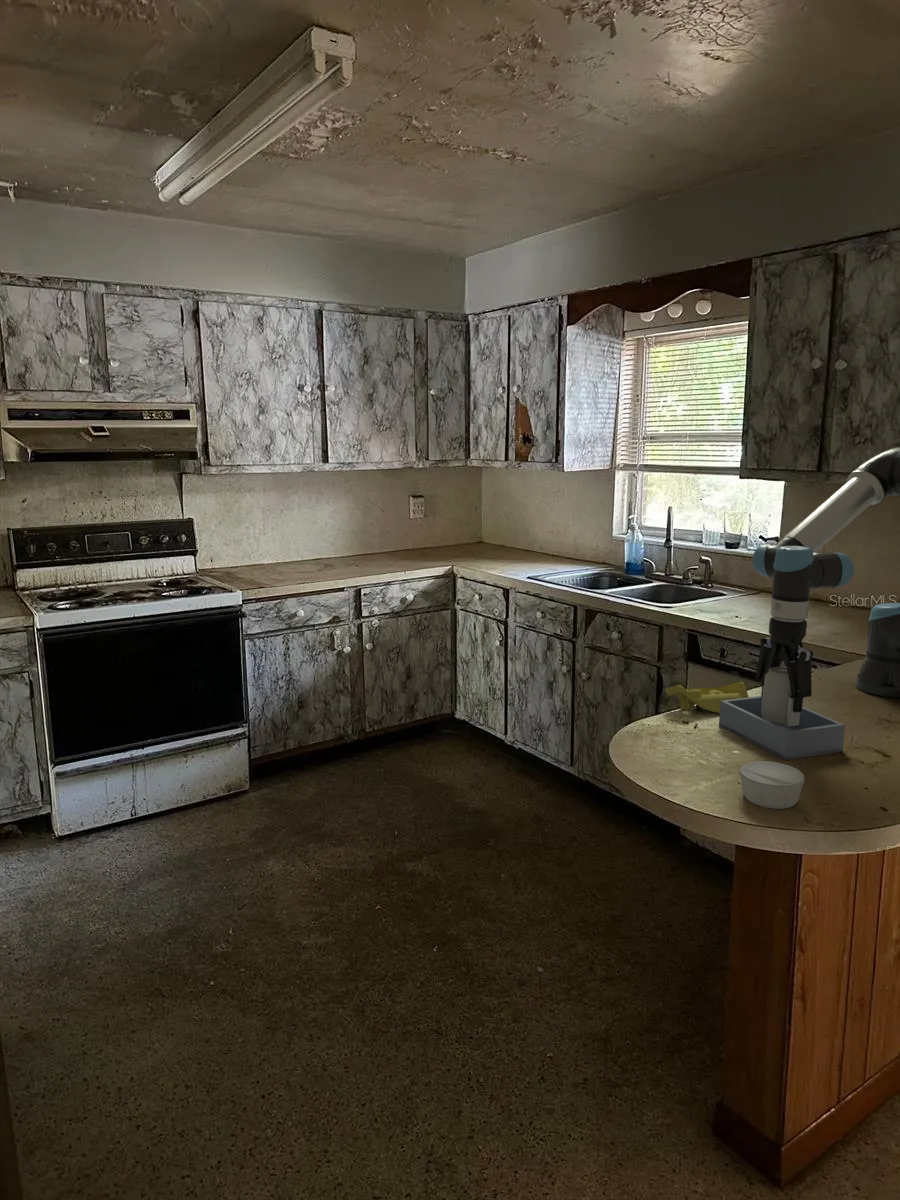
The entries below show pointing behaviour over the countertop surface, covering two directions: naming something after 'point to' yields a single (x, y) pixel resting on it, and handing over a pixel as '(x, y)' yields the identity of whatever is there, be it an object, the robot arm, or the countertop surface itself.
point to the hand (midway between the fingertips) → (779, 718)
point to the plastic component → (707, 696)
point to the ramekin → (771, 784)
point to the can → (776, 696)
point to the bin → (782, 730)
